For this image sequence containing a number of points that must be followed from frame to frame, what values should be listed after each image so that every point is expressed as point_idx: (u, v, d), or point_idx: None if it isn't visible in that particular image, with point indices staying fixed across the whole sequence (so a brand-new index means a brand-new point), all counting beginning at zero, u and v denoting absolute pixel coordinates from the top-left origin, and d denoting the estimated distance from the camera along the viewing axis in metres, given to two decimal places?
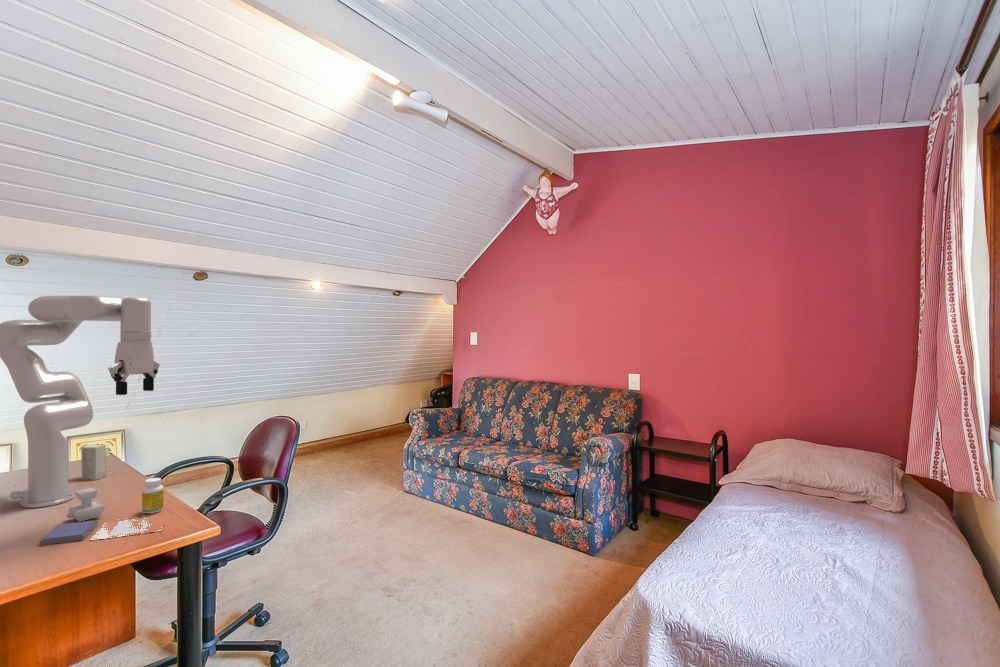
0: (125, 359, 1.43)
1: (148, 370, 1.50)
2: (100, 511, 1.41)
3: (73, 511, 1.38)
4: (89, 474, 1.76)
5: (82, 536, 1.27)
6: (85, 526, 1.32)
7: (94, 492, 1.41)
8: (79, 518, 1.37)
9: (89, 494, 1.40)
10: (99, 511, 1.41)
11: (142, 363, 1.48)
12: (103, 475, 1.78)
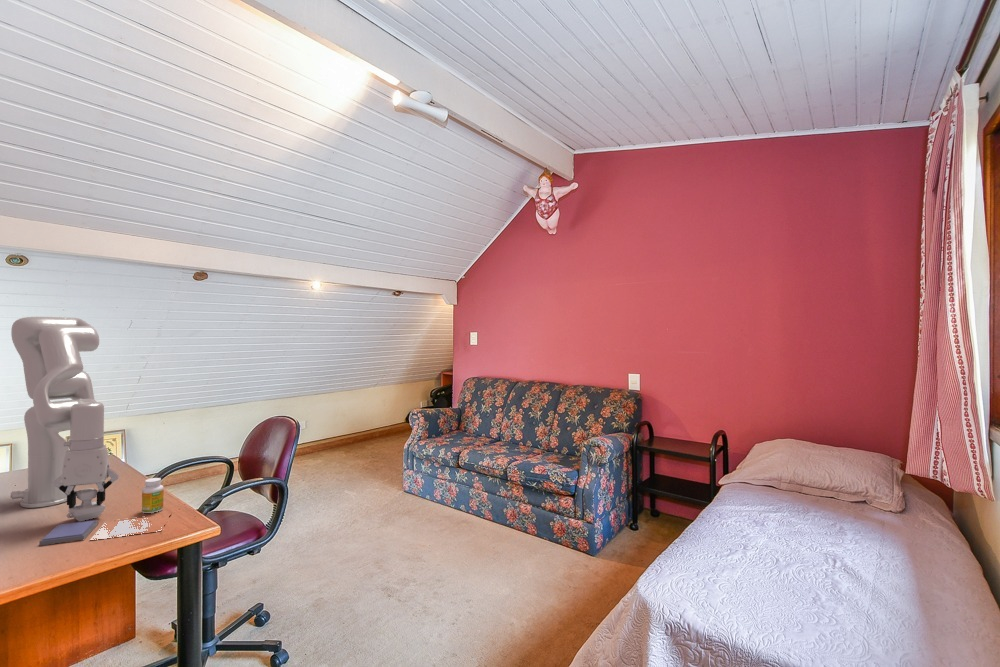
0: None
1: None
2: (100, 511, 1.41)
3: (73, 511, 1.38)
4: None
5: (82, 536, 1.27)
6: (85, 526, 1.32)
7: (94, 492, 1.41)
8: (79, 518, 1.37)
9: (90, 494, 1.40)
10: (99, 511, 1.41)
11: None
12: None
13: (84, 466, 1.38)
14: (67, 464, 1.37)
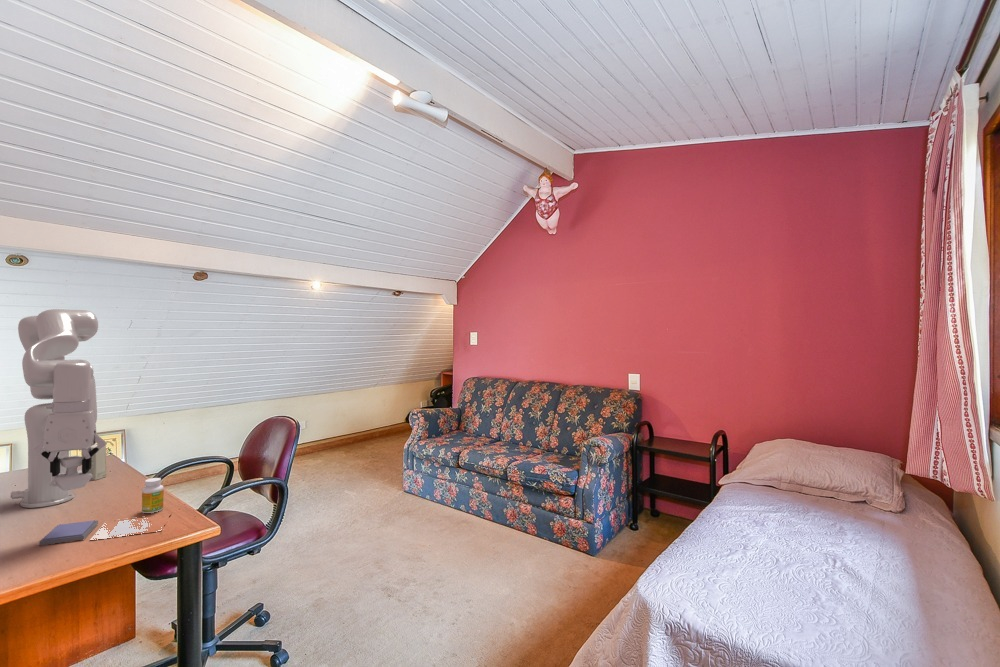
0: (95, 429, 1.33)
1: None
2: (86, 480, 1.30)
3: (57, 479, 1.27)
4: None
5: (82, 536, 1.27)
6: (85, 526, 1.32)
7: (80, 459, 1.30)
8: (63, 486, 1.27)
9: (75, 461, 1.29)
10: (85, 480, 1.30)
11: None
12: (103, 475, 1.78)
13: (68, 430, 1.27)
14: (50, 428, 1.26)
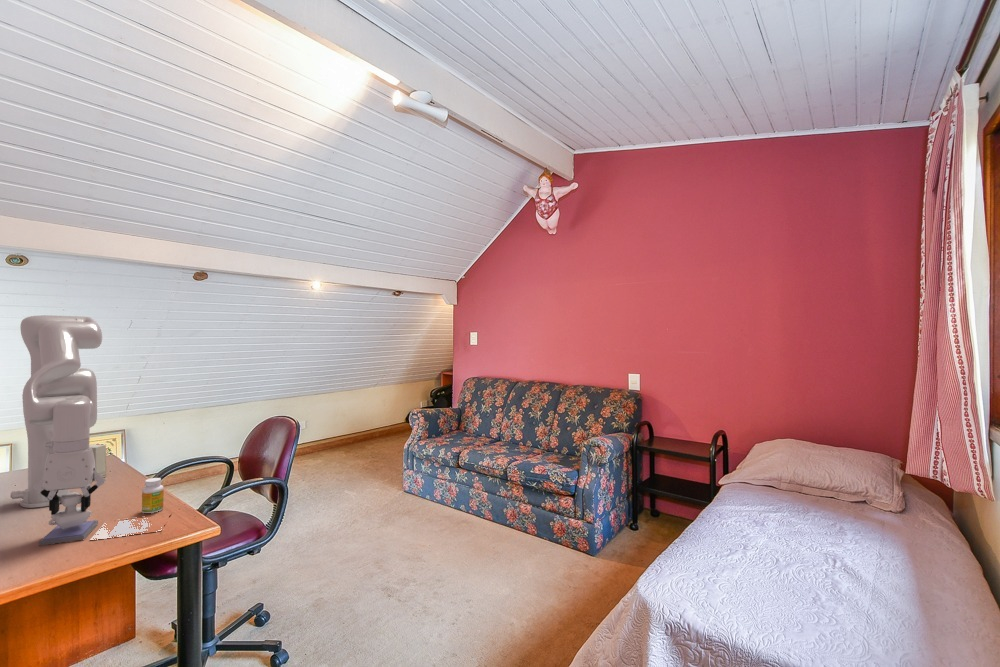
0: None
1: None
2: (85, 518, 1.31)
3: (56, 518, 1.27)
4: None
5: (82, 536, 1.27)
6: (85, 526, 1.32)
7: (79, 497, 1.30)
8: (62, 525, 1.27)
9: (74, 499, 1.30)
10: (84, 518, 1.30)
11: None
12: (103, 475, 1.78)
13: (68, 469, 1.28)
14: (49, 467, 1.26)
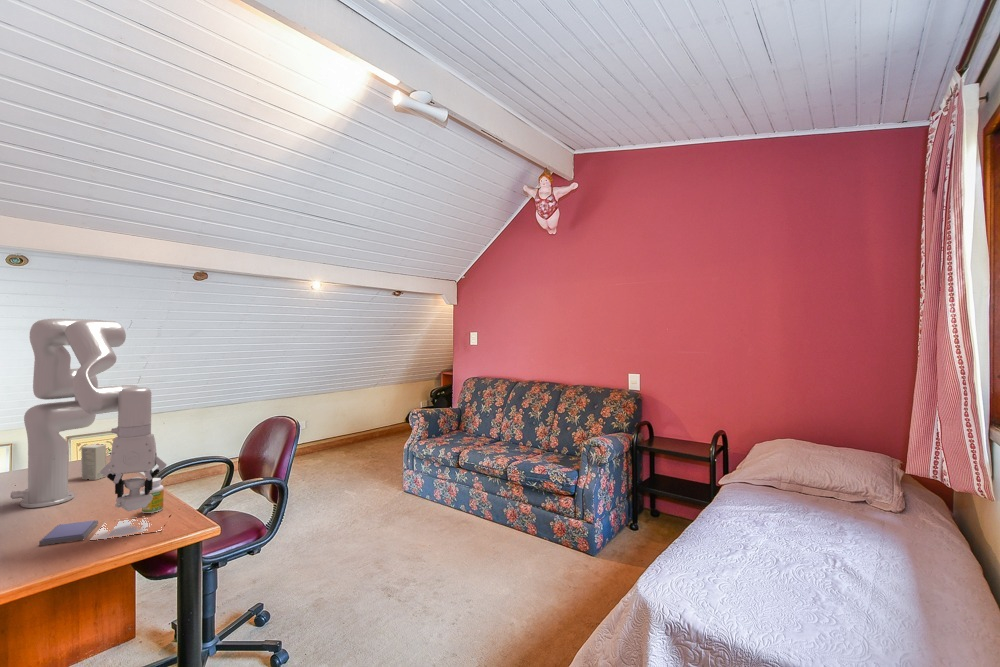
0: None
1: None
2: (149, 500, 1.36)
3: (122, 500, 1.33)
4: (89, 474, 1.76)
5: (82, 536, 1.27)
6: (85, 526, 1.32)
7: (142, 481, 1.36)
8: (128, 507, 1.32)
9: (138, 482, 1.35)
10: (147, 501, 1.36)
11: None
12: (103, 475, 1.78)
13: (132, 453, 1.33)
14: (115, 451, 1.32)
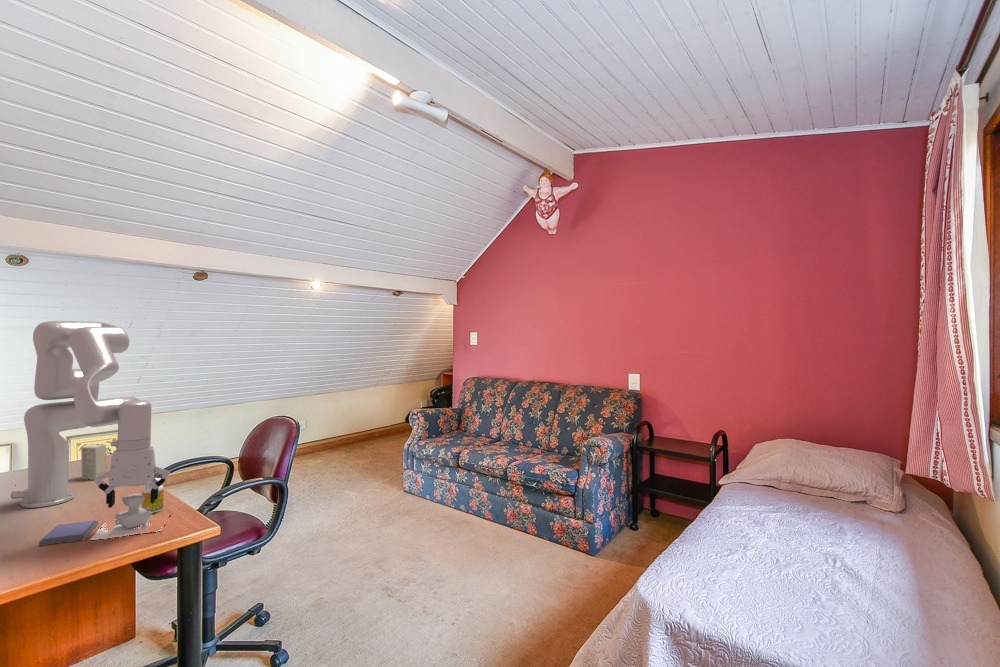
0: (155, 464, 1.39)
1: None
2: (148, 518, 1.36)
3: (121, 518, 1.33)
4: (89, 474, 1.76)
5: (82, 536, 1.27)
6: (85, 526, 1.32)
7: (141, 498, 1.36)
8: (127, 525, 1.33)
9: (137, 500, 1.35)
10: (146, 518, 1.36)
11: None
12: None
13: (132, 467, 1.34)
14: (115, 465, 1.32)
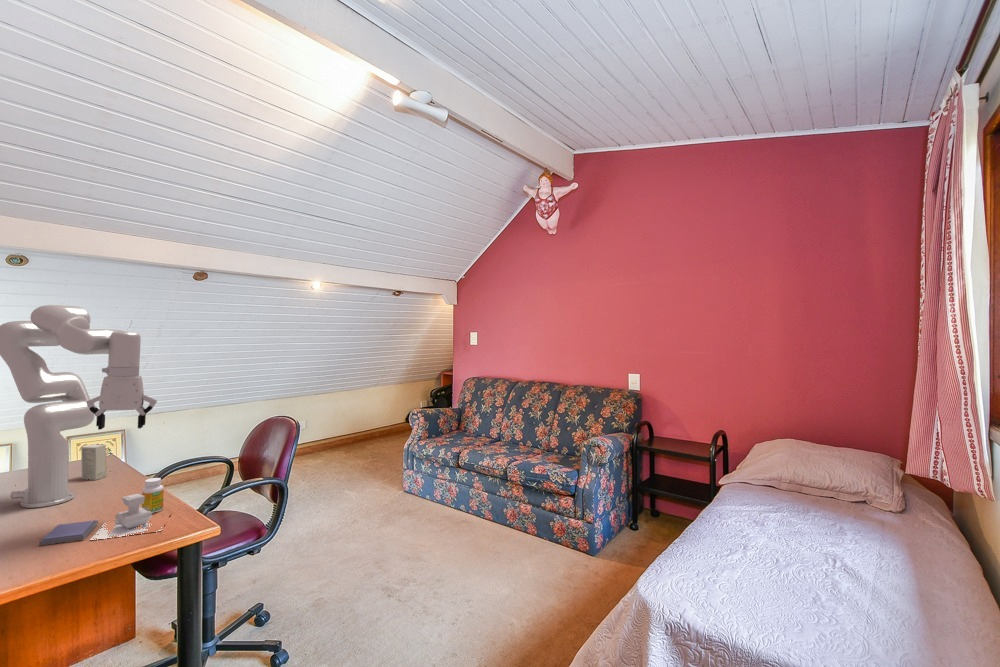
0: (143, 392, 1.48)
1: None
2: (148, 518, 1.36)
3: (121, 518, 1.33)
4: (89, 474, 1.76)
5: (82, 536, 1.27)
6: (85, 526, 1.32)
7: (141, 498, 1.36)
8: (127, 525, 1.33)
9: (137, 500, 1.35)
10: (146, 518, 1.36)
11: None
12: (103, 475, 1.78)
13: (120, 392, 1.43)
14: (105, 389, 1.41)
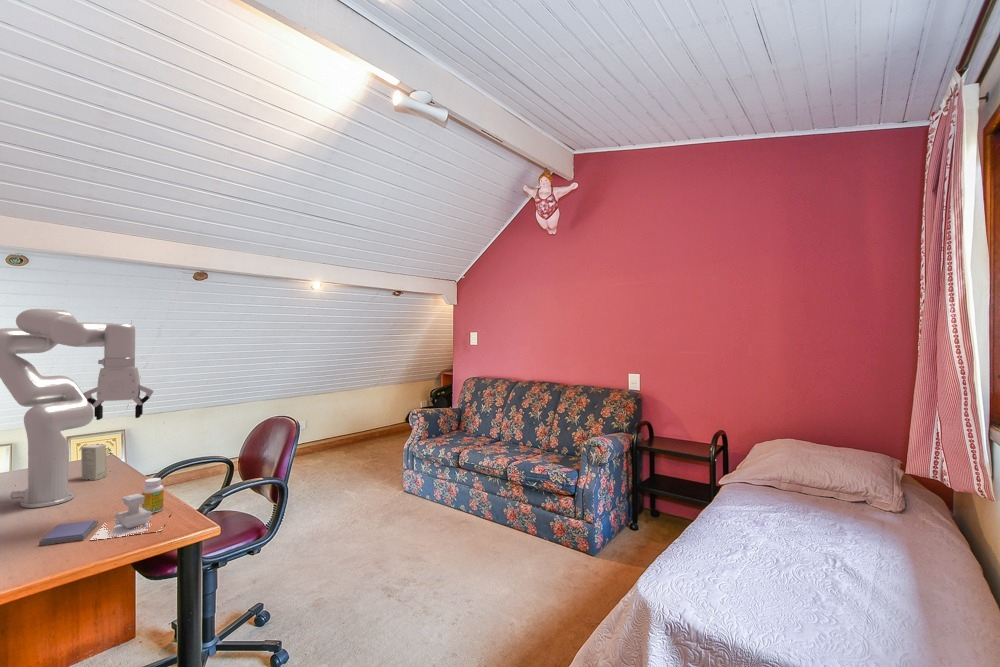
0: (139, 383, 1.52)
1: None
2: (148, 518, 1.36)
3: (121, 518, 1.33)
4: (89, 474, 1.76)
5: (82, 536, 1.27)
6: (85, 526, 1.32)
7: (141, 498, 1.36)
8: (127, 525, 1.33)
9: (137, 500, 1.35)
10: (146, 518, 1.36)
11: None
12: (103, 475, 1.78)
13: (117, 383, 1.46)
14: (102, 380, 1.45)
